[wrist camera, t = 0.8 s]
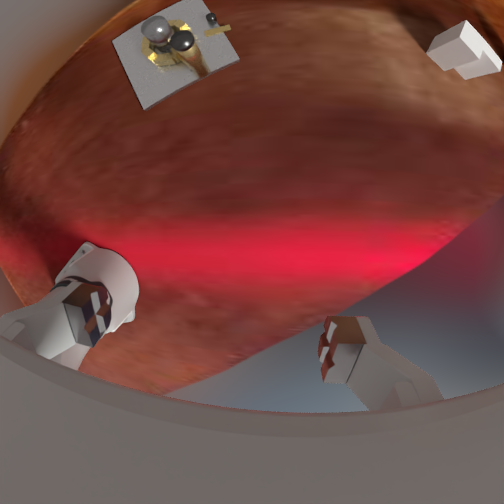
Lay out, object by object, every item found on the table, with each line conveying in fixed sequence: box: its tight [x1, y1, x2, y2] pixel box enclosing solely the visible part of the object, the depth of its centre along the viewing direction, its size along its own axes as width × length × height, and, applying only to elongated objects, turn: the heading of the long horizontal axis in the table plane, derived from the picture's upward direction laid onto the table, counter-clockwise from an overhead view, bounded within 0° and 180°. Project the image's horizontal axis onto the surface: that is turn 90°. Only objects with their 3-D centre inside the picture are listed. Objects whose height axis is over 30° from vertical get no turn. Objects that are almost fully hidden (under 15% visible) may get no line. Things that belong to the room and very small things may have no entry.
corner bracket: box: [426, 20, 502, 80], centre depth 28 cm, size 11×11×12 cm
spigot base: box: [112, 0, 240, 111], centre depth 32 cm, size 20×18×10 cm
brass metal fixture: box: [141, 19, 210, 78], centre depth 30 cm, size 14×8×14 cm, turn 44°
